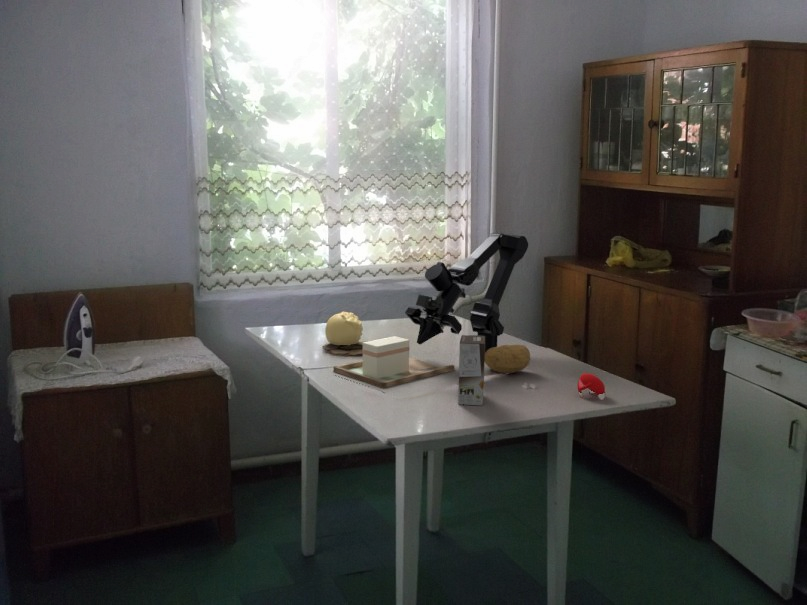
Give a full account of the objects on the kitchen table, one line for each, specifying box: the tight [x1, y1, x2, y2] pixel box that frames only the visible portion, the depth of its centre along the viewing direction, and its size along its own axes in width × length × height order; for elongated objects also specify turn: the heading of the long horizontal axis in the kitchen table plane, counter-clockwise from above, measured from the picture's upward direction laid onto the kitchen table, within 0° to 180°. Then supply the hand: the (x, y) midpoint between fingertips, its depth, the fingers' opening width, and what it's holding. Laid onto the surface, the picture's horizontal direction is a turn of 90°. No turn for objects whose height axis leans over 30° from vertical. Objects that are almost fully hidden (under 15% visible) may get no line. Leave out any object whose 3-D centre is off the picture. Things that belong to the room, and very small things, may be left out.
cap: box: [576, 372, 606, 396], centre depth 218 cm, size 8×6×6 cm
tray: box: [333, 356, 455, 389], centre depth 236 cm, size 27×21×2 cm
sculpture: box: [324, 311, 364, 346], centre depth 269 cm, size 12×12×11 cm
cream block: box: [361, 335, 410, 379], centre depth 233 cm, size 12×6×9 cm, turn 133°
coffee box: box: [457, 334, 486, 406], centre depth 213 cm, size 9×6×16 cm
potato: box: [485, 344, 531, 374], centre depth 239 cm, size 10×14×8 cm
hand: (418, 343), depth 241 cm, fingers closed
